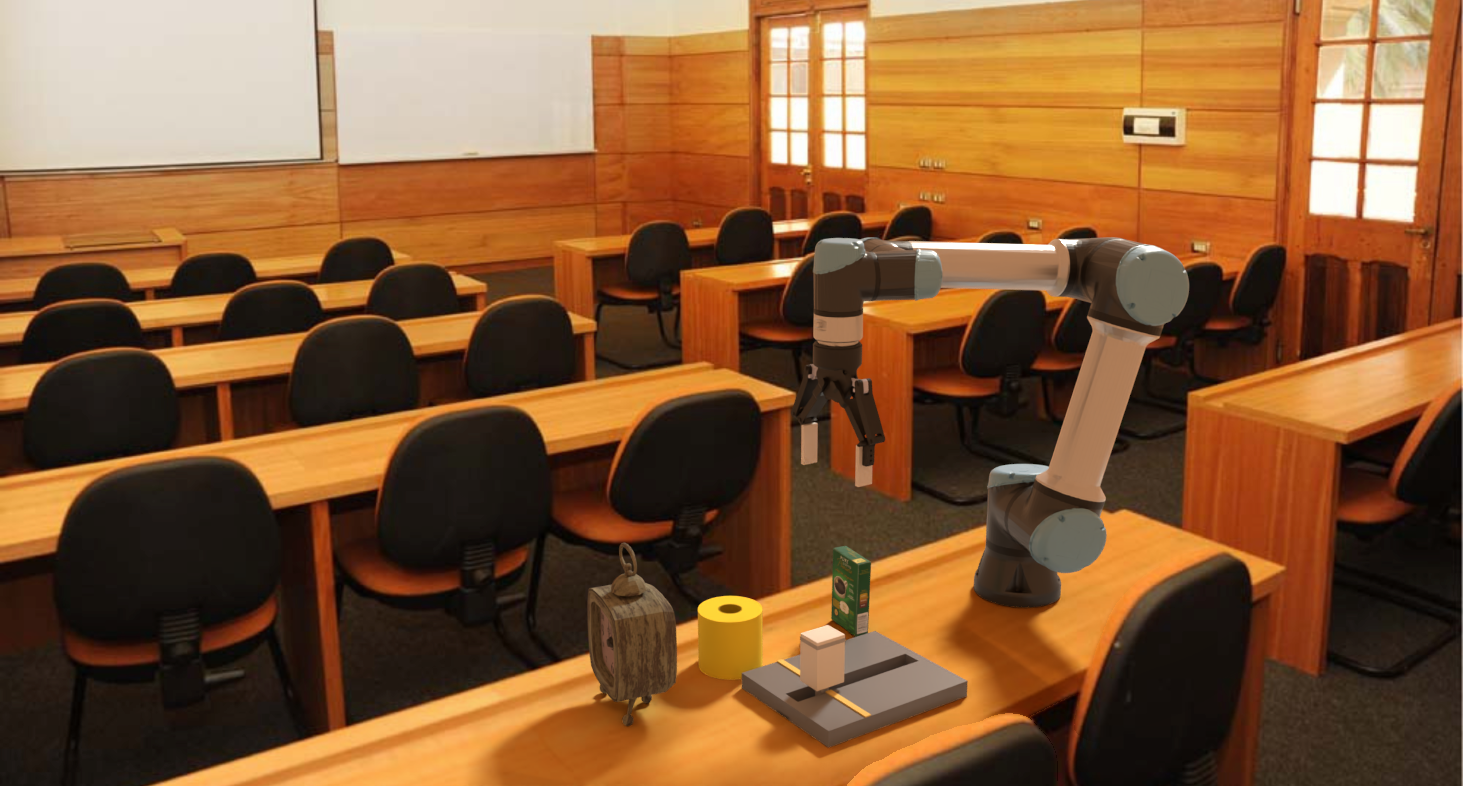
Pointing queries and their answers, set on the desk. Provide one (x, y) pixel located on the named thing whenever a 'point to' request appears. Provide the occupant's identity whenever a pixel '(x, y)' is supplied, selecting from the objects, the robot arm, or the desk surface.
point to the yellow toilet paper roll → (730, 636)
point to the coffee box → (850, 590)
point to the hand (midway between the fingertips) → (835, 474)
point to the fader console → (857, 690)
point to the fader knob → (822, 658)
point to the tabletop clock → (631, 638)
